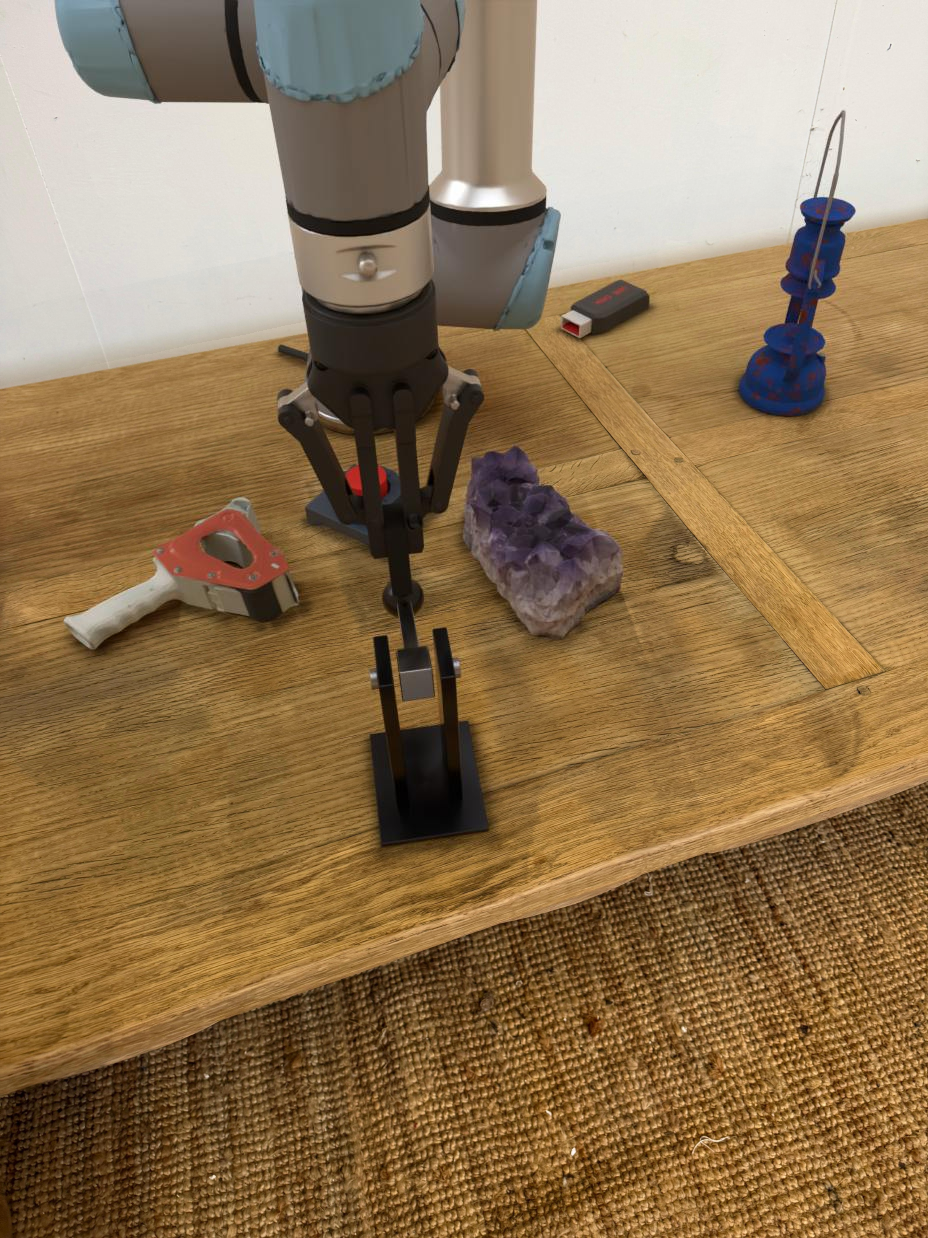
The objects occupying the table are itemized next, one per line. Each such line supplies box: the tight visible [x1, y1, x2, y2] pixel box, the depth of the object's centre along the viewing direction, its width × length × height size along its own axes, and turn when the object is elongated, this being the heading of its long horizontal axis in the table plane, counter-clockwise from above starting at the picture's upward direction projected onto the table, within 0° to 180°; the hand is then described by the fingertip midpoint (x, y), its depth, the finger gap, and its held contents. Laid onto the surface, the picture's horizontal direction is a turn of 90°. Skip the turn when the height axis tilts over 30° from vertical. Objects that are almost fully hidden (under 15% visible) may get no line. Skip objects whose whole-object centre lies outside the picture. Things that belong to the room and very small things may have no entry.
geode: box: [462, 445, 624, 640], centre depth 86 cm, size 20×12×10 cm, turn 30°
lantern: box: [738, 109, 857, 417], centre depth 96 cm, size 11×9×30 cm
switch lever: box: [381, 578, 436, 703], centre depth 67 cm, size 13×3×3 cm, turn 8°
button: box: [346, 464, 388, 498], centre depth 91 cm, size 4×4×2 cm
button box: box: [304, 463, 402, 547], centre depth 93 cm, size 10×8×4 cm
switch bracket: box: [368, 626, 490, 848], centre depth 67 cm, size 10×8×16 cm
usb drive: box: [560, 279, 651, 339], centre depth 119 cm, size 5×12×3 cm, turn 132°
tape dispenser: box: [63, 496, 300, 650], centre depth 86 cm, size 18×5×20 cm
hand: (400, 582), depth 69 cm, fingers closed
